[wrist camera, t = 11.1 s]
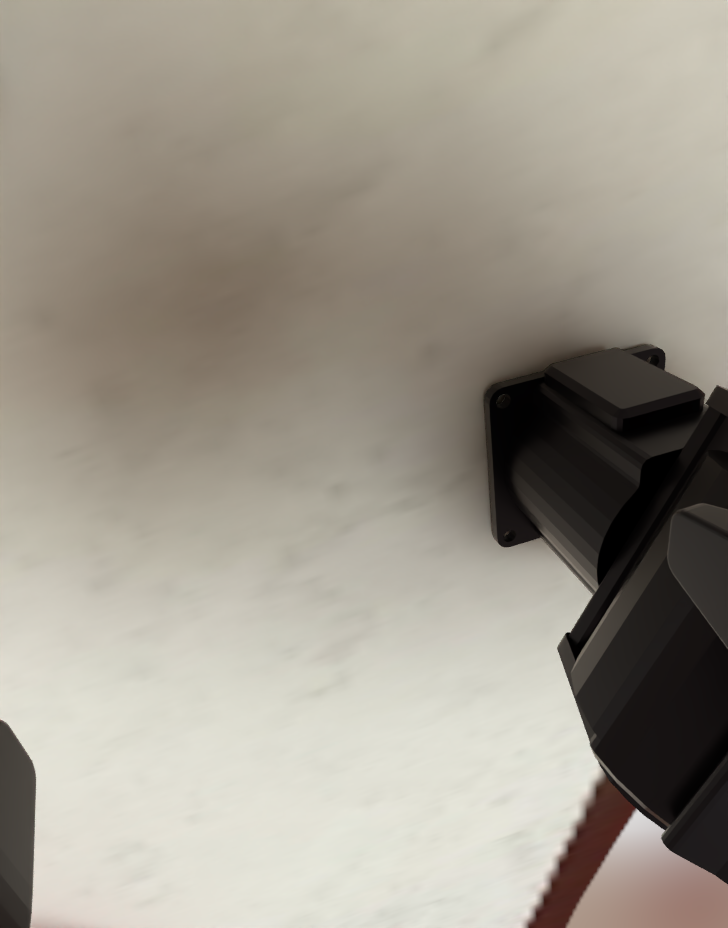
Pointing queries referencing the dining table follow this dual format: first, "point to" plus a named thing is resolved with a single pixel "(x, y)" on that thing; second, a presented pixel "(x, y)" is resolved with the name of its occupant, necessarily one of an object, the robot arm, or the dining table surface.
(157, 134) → the dining table surface
